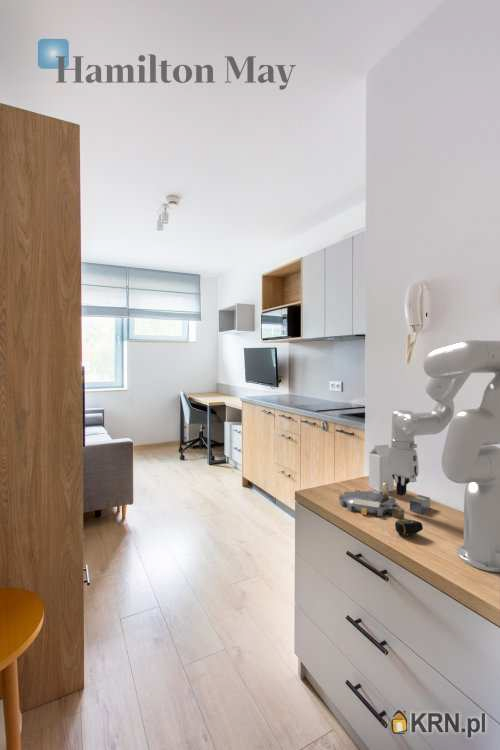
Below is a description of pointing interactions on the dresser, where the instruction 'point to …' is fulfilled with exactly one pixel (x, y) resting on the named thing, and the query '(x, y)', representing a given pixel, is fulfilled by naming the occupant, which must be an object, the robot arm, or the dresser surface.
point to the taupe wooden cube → (397, 512)
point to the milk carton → (379, 468)
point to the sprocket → (369, 501)
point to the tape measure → (408, 526)
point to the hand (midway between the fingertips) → (401, 494)
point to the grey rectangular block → (420, 504)
